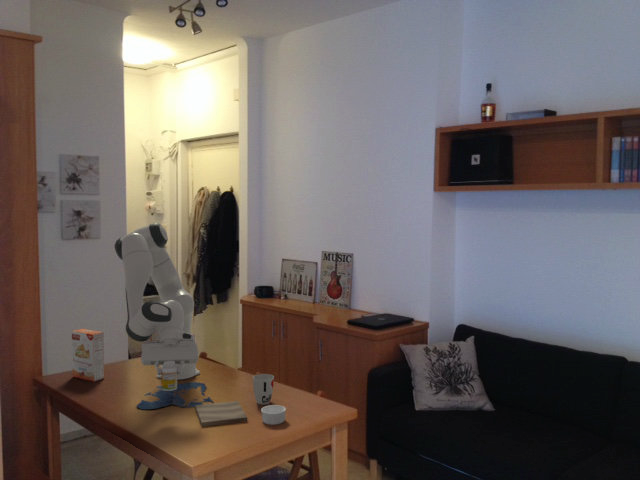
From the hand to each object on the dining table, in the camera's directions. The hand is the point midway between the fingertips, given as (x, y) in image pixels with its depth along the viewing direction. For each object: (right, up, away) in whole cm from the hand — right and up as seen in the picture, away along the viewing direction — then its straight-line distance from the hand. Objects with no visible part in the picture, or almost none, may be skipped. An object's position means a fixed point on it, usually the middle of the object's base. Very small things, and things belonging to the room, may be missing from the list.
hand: (169, 373), depth 208 cm
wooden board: (+18, -16, +4) cm, 24 cm away
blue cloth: (-4, -15, +25) cm, 30 cm away
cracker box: (-48, -13, +48) cm, 70 cm away
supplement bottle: (0, -6, +1) cm, 6 cm away
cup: (+32, -16, +19) cm, 40 cm away
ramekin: (+37, -17, -1) cm, 41 cm away
